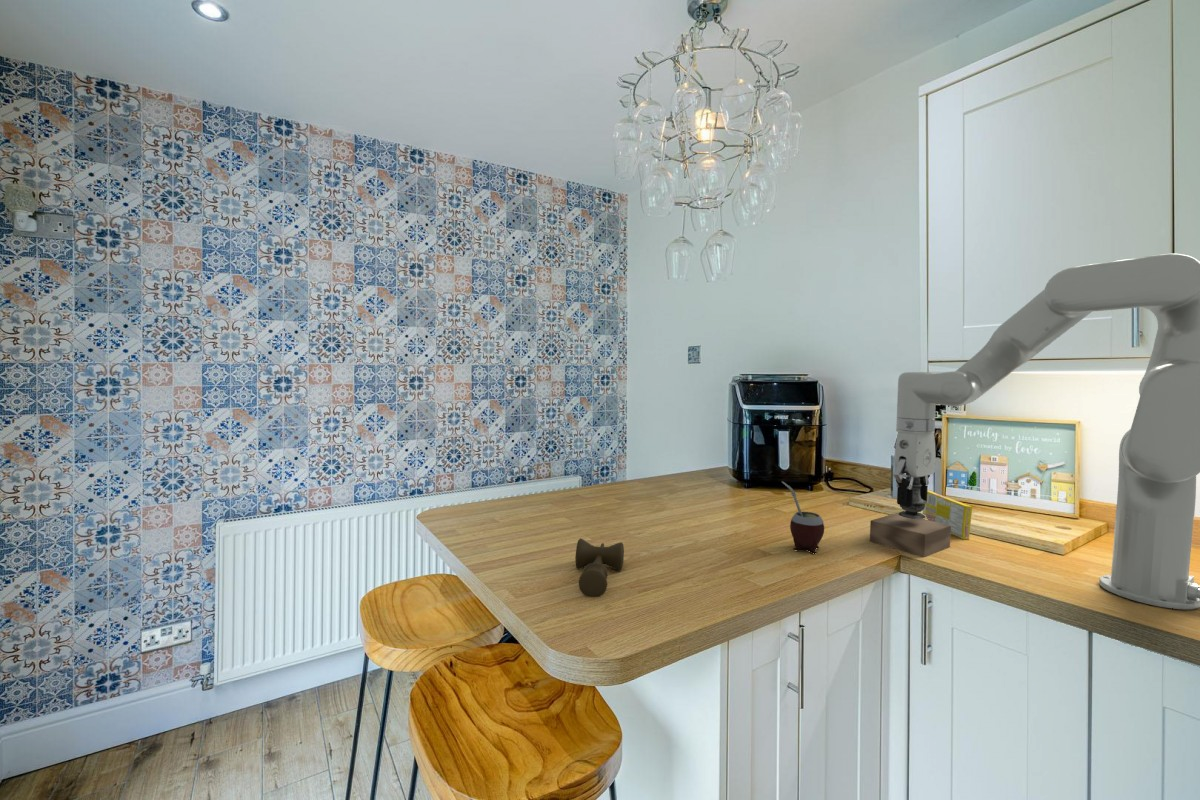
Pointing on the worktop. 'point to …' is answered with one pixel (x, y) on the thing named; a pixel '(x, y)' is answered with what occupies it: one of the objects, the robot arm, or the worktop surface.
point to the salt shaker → (914, 502)
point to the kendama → (597, 565)
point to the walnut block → (910, 534)
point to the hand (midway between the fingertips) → (912, 502)
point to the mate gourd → (805, 528)
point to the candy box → (949, 513)
